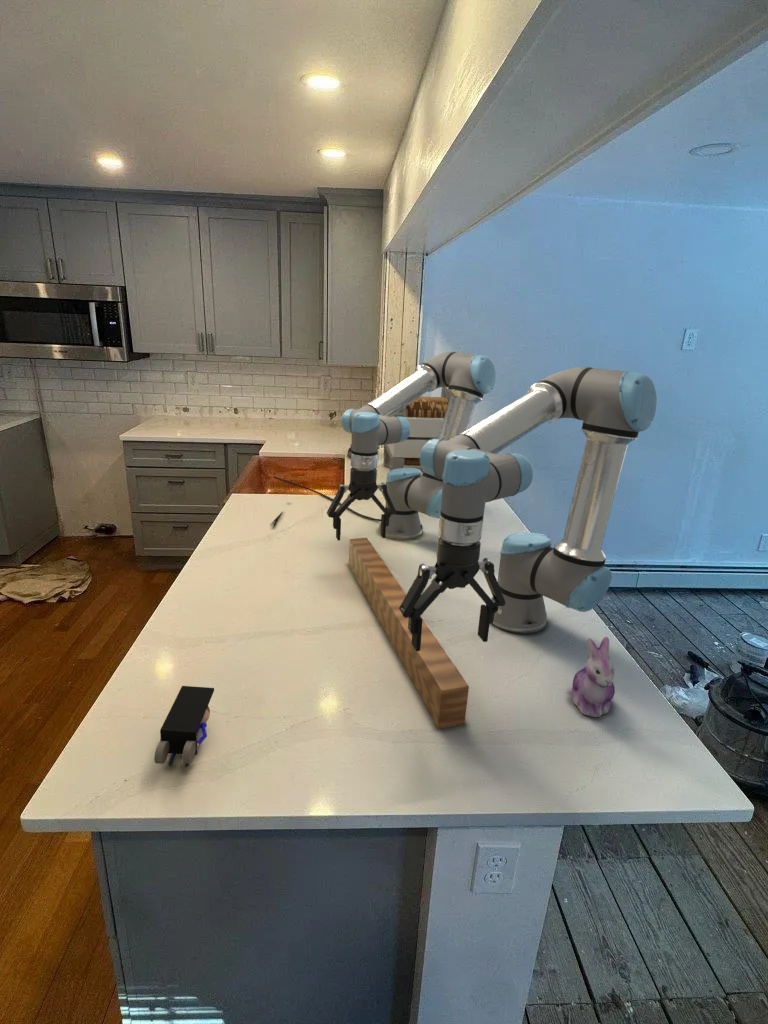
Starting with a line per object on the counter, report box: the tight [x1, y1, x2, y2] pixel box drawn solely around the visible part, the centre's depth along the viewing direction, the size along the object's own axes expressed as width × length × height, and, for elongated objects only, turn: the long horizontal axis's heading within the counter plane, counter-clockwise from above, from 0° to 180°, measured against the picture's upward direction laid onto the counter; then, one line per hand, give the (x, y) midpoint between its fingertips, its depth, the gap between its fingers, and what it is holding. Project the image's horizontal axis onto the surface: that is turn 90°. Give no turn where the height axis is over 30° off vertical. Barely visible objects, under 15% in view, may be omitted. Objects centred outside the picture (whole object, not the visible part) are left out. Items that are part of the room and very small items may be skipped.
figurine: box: [570, 636, 616, 718], centre depth 114 cm, size 9×10×15 cm
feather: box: [270, 512, 283, 529], centre depth 212 cm, size 2×28×2 cm
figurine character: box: [153, 685, 215, 768], centre depth 100 cm, size 7×8×15 cm
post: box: [348, 537, 470, 729], centre depth 140 cm, size 74×6×9 cm, turn 17°
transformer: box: [383, 387, 450, 471], centre depth 268 cm, size 34×33×41 cm
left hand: (360, 537), depth 167 cm, fingers open, 13 cm apart
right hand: (449, 642), depth 107 cm, fingers open, 13 cm apart
